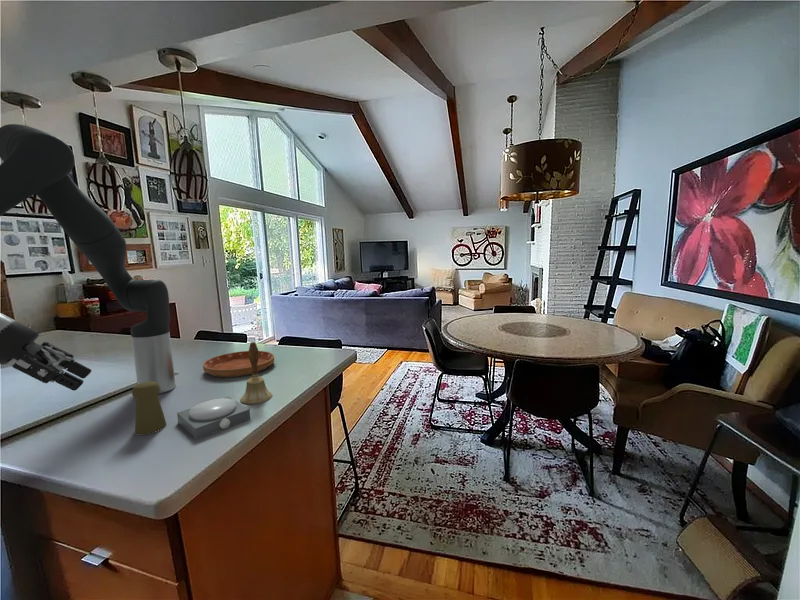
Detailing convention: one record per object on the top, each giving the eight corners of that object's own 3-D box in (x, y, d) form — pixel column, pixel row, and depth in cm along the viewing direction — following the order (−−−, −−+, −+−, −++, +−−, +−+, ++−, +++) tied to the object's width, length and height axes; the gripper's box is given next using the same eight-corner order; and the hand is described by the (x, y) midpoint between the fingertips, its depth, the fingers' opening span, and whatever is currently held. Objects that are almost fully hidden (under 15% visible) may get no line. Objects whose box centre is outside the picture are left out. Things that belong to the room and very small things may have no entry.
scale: (178, 422, 83) (176, 408, 83) (229, 405, 92) (228, 393, 92) (197, 439, 75) (195, 424, 75) (251, 419, 84) (250, 405, 84)
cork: (142, 437, 77) (135, 390, 75) (130, 430, 80) (123, 385, 79) (171, 425, 82) (166, 381, 80) (159, 419, 85) (153, 376, 84)
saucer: (252, 355, 139) (251, 347, 139) (287, 365, 126) (287, 355, 125) (191, 372, 121) (190, 362, 120) (225, 385, 107) (224, 374, 107)
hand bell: (274, 391, 102) (270, 337, 99) (269, 403, 93) (264, 345, 91) (244, 393, 100) (240, 339, 98) (236, 405, 92) (231, 347, 90)
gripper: (-2, 326, 61) (93, 374, 69) (25, 315, 73) (104, 357, 81) (-43, 360, 59) (60, 407, 67) (-8, 343, 71) (76, 385, 78)
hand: (84, 380), depth 74 cm, fingers open, 8 cm apart
